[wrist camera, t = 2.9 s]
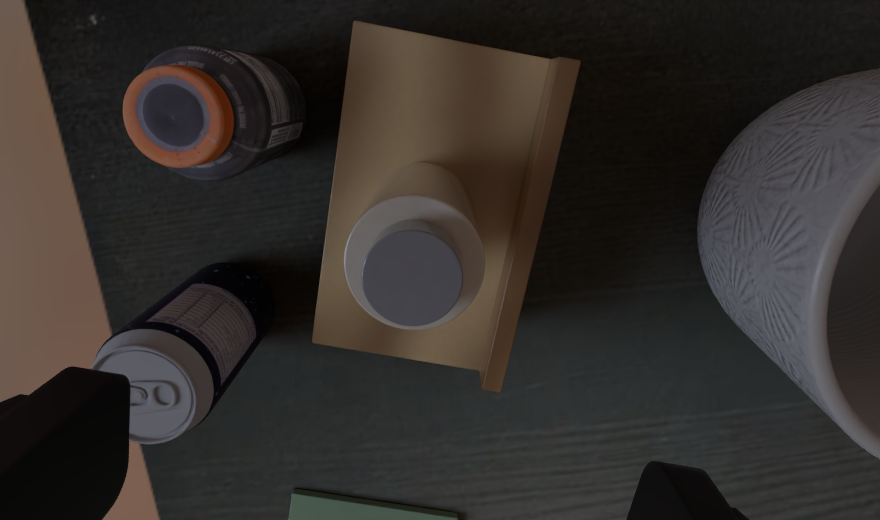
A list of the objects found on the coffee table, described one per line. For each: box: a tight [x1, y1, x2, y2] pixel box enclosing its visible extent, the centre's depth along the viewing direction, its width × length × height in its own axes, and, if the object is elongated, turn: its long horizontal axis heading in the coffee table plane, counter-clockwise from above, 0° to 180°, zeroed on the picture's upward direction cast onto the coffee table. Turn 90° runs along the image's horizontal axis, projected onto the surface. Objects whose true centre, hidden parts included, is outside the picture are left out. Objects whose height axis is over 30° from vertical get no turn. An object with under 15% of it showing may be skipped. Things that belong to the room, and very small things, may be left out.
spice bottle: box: [343, 162, 485, 330], centre depth 23 cm, size 5×5×10 cm
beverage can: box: [91, 263, 275, 444], centre depth 31 cm, size 6×6×12 cm
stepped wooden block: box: [312, 21, 581, 393], centre depth 30 cm, size 10×16×9 cm, turn 170°
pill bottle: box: [123, 44, 307, 181], centre depth 28 cm, size 6×6×11 cm
